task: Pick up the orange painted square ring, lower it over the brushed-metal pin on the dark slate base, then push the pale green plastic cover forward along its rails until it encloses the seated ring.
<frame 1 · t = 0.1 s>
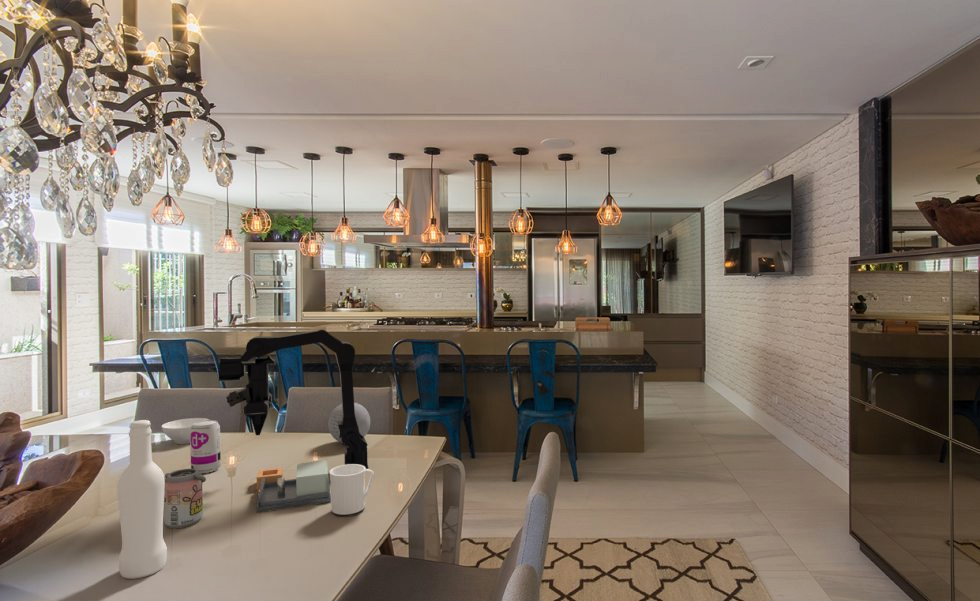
hand: (259, 431, 156), 14 cm above the table, fingers open, 9 cm apart
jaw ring: (270, 484, 152), on the table
housing cover: (312, 478, 144), point 4 cm above the table, slide at 0.0 cm
housing base: (295, 495, 143), on the table
mug: (352, 510, 133), on the table
decorative ball: (349, 443, 193), on the table
pink grey lidded container: (185, 521, 128), on the table
bowl: (186, 441, 198), on the table
bottle: (143, 570, 105), on the table
supplement can: (206, 470, 165), on the table
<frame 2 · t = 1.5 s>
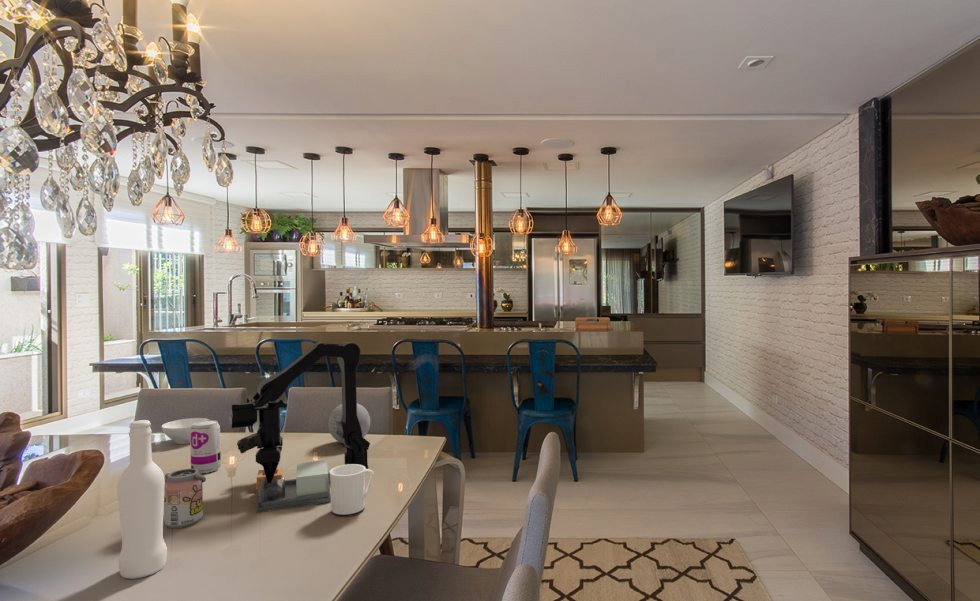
hand: (270, 477, 151), 2 cm above the table, fingers open, 8 cm apart
nothing on the table moved.
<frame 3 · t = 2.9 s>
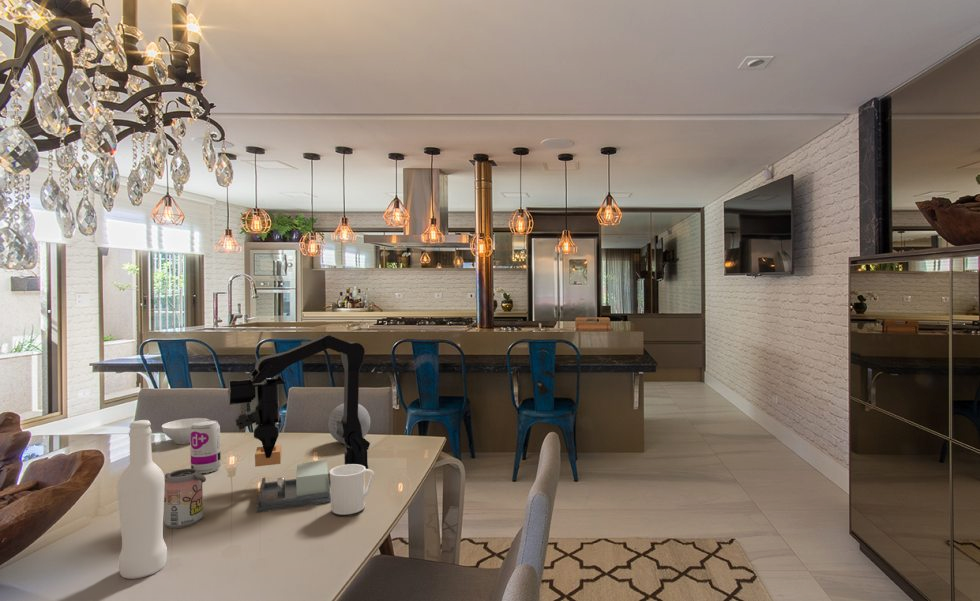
hand: (268, 454, 151), 9 cm above the table, fingers closed on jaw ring, 7 cm apart
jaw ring: (268, 461, 152), point 7 cm above the table, touching gripper
everything else where it was.
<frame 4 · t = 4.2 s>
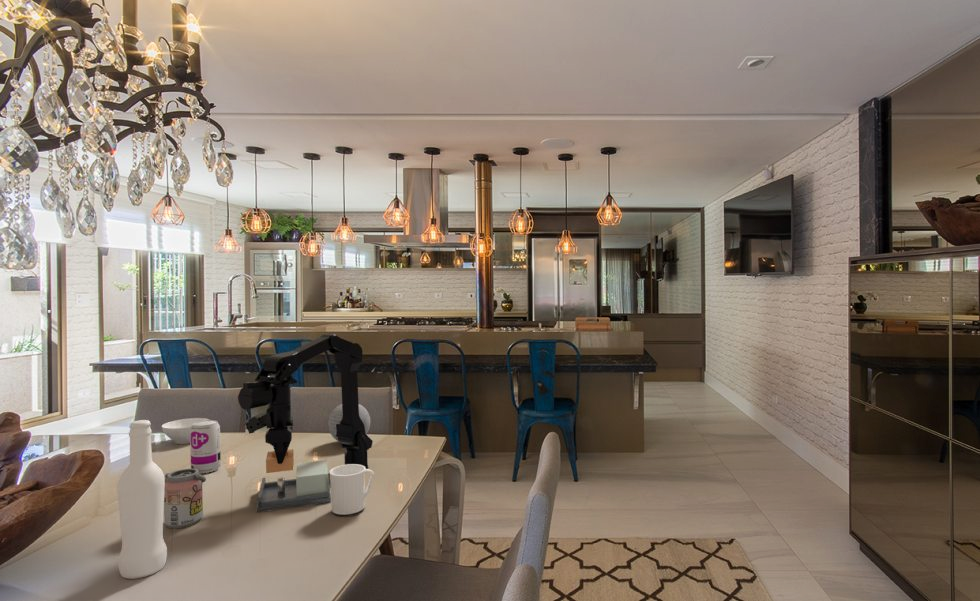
hand: (280, 459, 142), 10 cm above the table, fingers closed on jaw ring, 7 cm apart
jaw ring: (280, 467, 142), point 8 cm above the table, touching gripper
everything else where it was.
when the fingers open (3 cm above the table, at t = 5.9 s): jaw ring stays where it is, resting on housing base.
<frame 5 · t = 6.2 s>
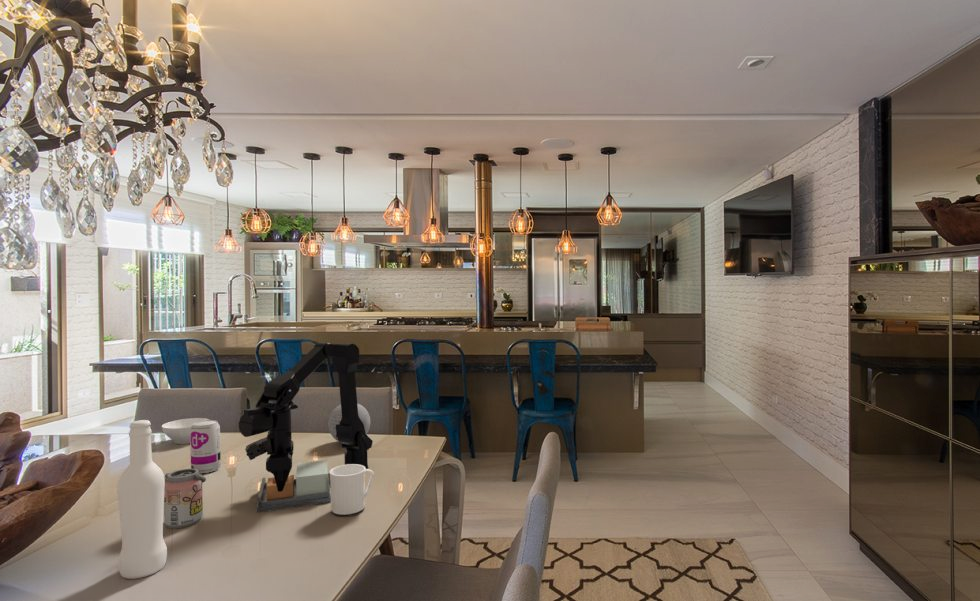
hand: (281, 485, 142), 3 cm above the table, fingers open, 9 cm apart
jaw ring: (280, 493, 142), point 1 cm above the table, touching housing base
everything else where it was.
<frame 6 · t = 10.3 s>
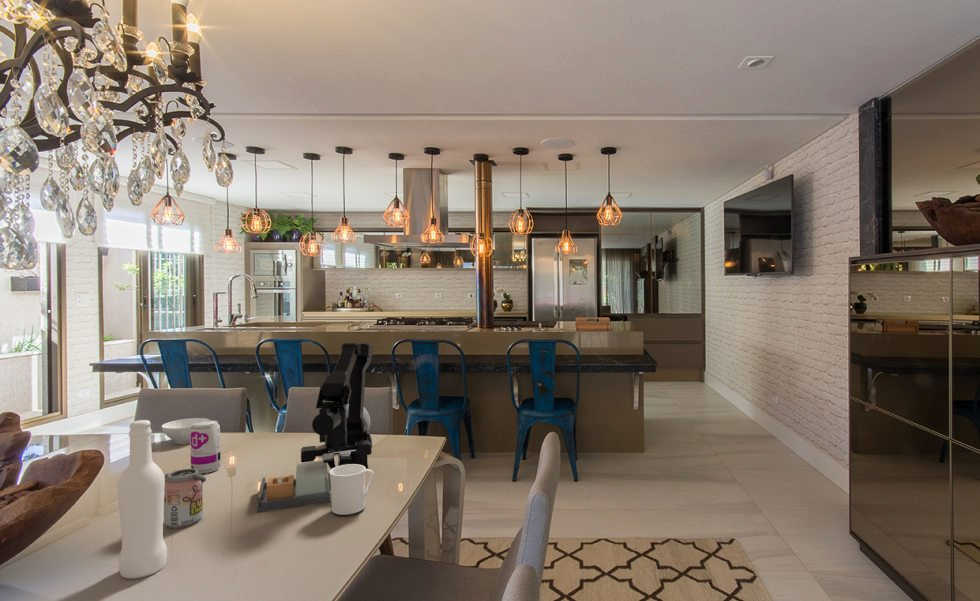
hand: (336, 481, 146), 3 cm above the table, fingers closed
housing cover: (312, 478, 144), point 4 cm above the table, slide at 0.1 cm, touching gripper
everything else where it was.
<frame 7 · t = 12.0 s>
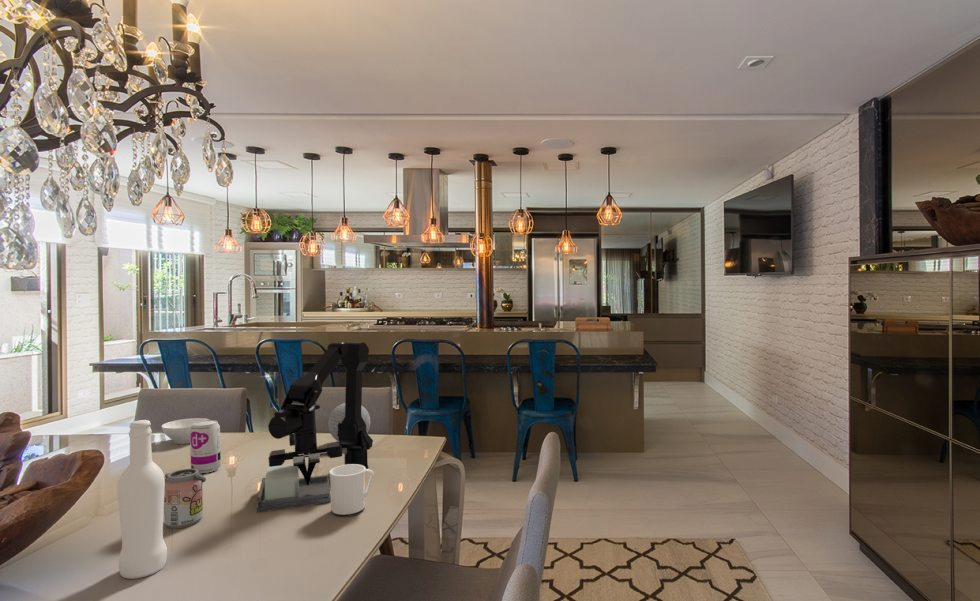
hand: (307, 484, 144), 3 cm above the table, fingers closed
housing cover: (282, 482, 142), point 4 cm above the table, slide at 7.6 cm, touching gripper
everything else where it was.
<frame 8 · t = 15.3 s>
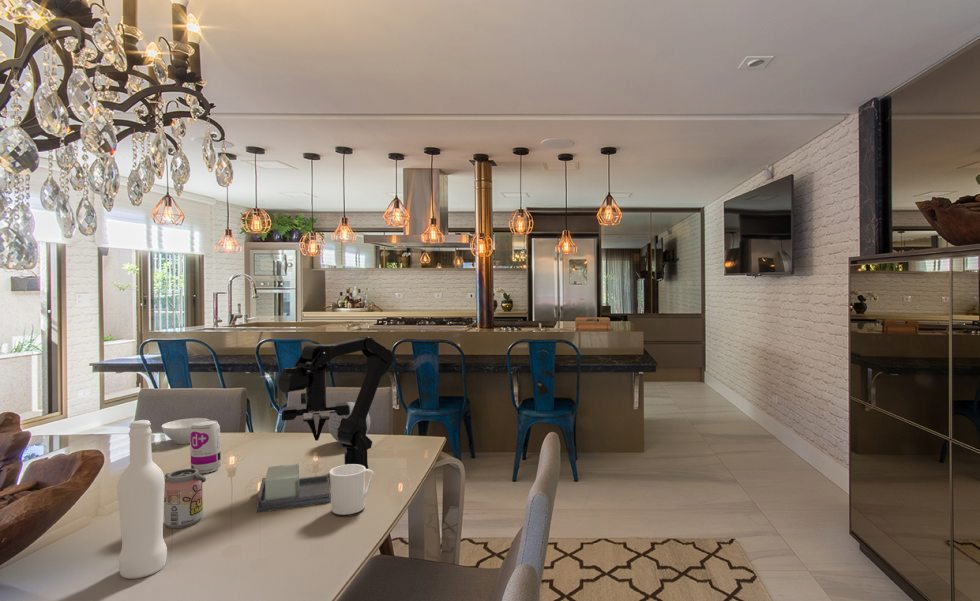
hand: (316, 440, 154), 12 cm above the table, fingers closed
housing cover: (283, 482, 142), point 4 cm above the table, slide at 7.5 cm
everything else where it was.
at the end: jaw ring 0.1 cm from the target spot on the housing base, point 1.2 cm above the housing base's base; housing cover slide at 7.5 cm; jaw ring tilted 0° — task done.
